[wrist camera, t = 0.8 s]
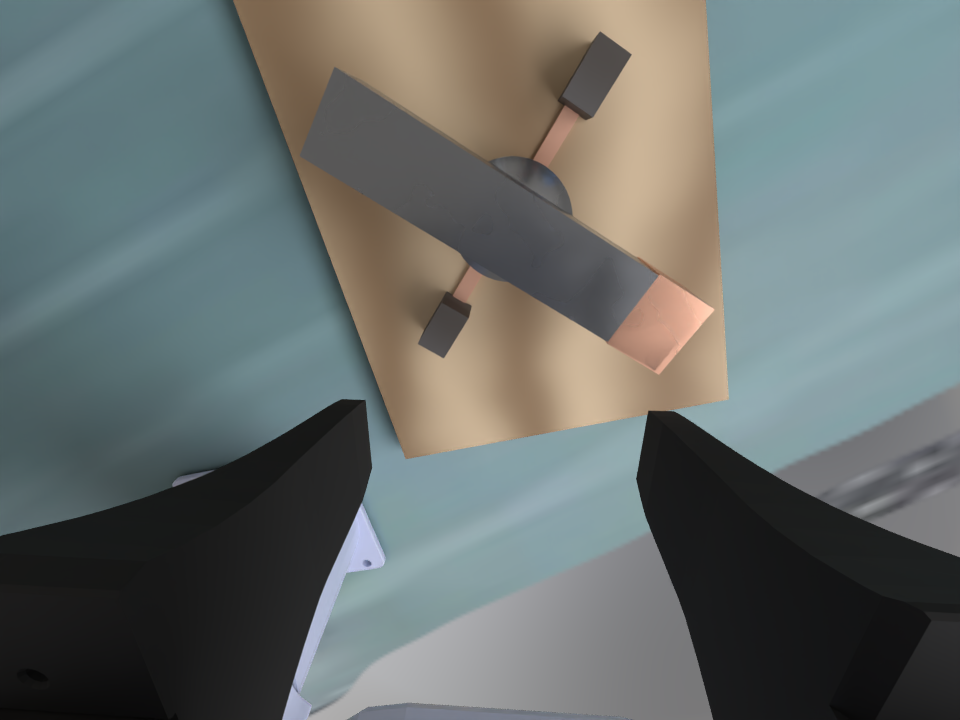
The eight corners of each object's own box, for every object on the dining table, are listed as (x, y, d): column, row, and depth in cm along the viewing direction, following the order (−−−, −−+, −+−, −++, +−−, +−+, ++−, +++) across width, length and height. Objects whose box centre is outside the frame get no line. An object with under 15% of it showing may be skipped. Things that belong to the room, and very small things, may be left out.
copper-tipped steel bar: (333, 176, 17) (288, 183, 13) (383, 60, 15) (347, 33, 12) (618, 348, 18) (643, 393, 15) (688, 260, 17) (732, 288, 14)
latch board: (409, 447, 24) (398, 479, 22) (234, -29, 16) (188, -59, 14) (719, 389, 22) (745, 418, 19) (681, -193, 14) (715, -261, 12)
